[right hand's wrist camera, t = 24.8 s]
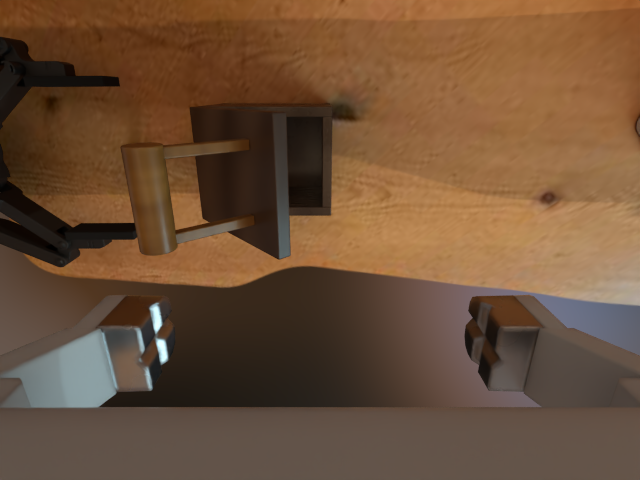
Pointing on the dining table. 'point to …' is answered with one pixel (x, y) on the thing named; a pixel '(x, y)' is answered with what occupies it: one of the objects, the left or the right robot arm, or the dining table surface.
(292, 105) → the chest
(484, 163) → the dining table surface
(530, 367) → the right robot arm
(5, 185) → the left robot arm
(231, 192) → the lid
